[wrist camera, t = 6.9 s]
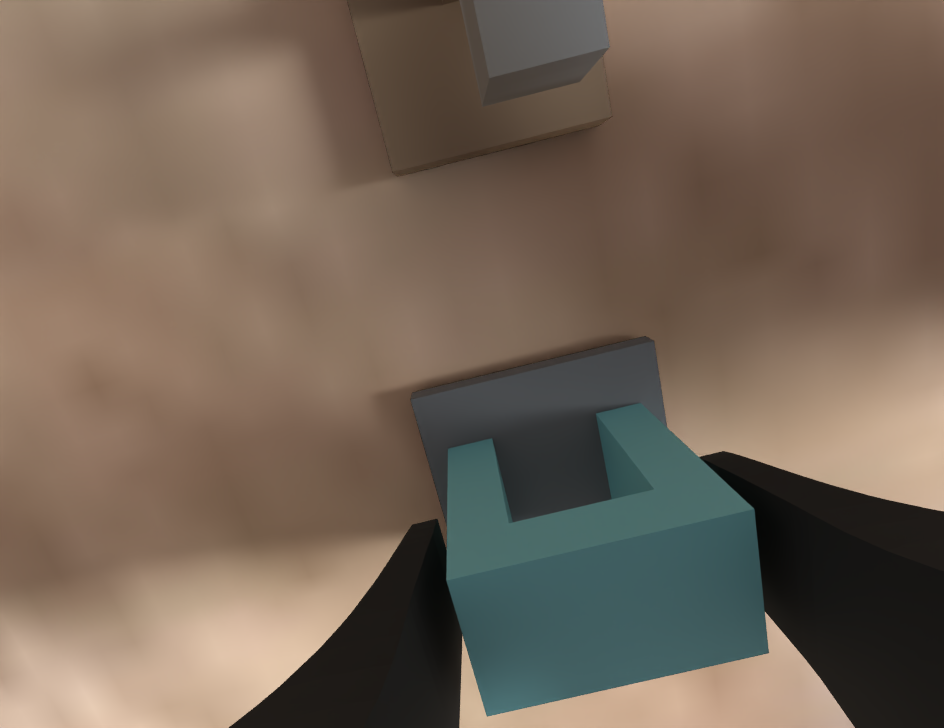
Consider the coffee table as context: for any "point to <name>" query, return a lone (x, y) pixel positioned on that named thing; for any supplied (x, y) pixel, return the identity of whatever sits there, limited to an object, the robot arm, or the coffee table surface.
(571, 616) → the teal notched block
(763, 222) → the coffee table surface
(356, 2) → the stand
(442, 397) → the mat
